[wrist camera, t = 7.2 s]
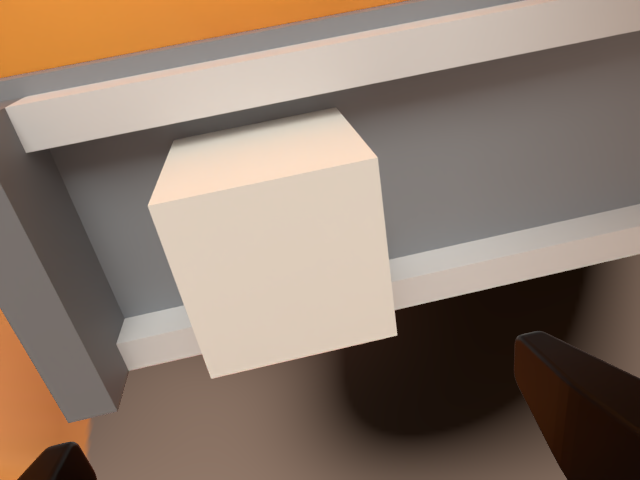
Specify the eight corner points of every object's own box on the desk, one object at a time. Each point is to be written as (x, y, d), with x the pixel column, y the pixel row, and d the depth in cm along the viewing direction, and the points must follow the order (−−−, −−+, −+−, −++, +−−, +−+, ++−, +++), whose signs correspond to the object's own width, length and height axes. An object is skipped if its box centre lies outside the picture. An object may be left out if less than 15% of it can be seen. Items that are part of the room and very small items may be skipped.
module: (335, 107, 15) (377, 157, 11) (356, 250, 17) (397, 339, 13) (173, 140, 15) (147, 205, 10) (218, 281, 17) (212, 382, 13)
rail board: (791, -73, 16) (964, -91, 12) (718, 208, 20) (825, 257, 17) (-40, 85, 14) (-138, 121, 10) (93, 349, 19) (59, 437, 15)
